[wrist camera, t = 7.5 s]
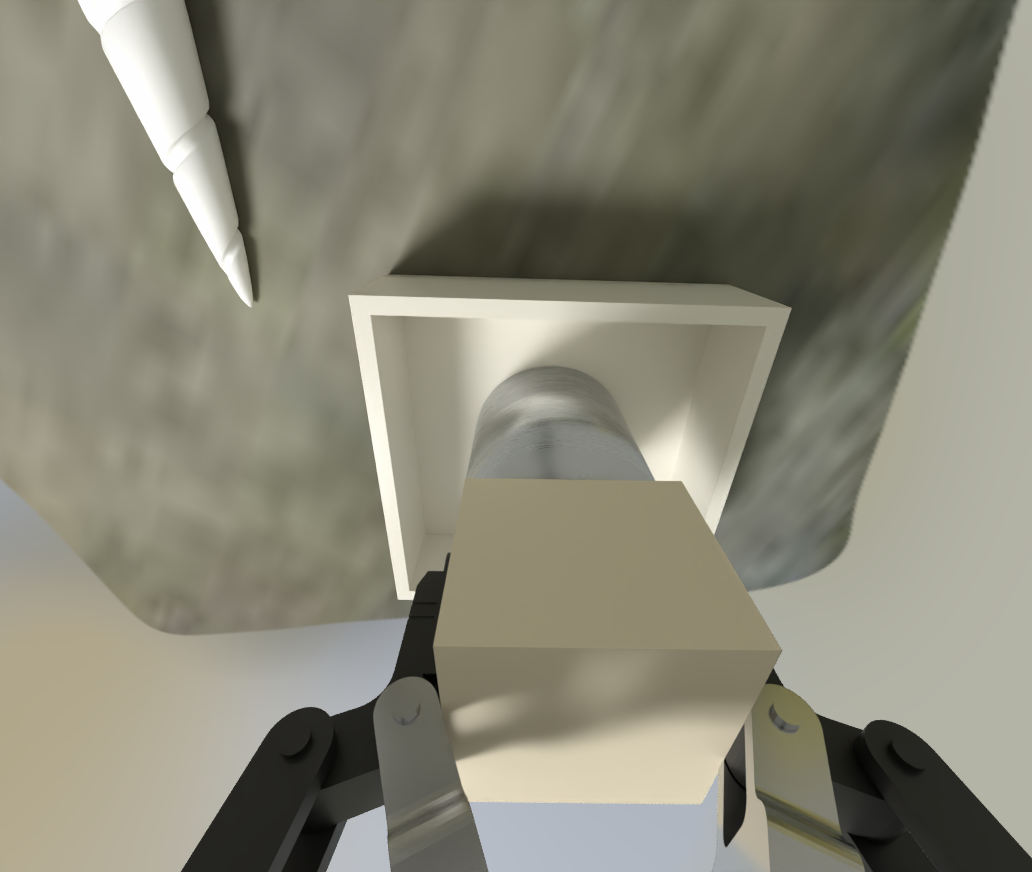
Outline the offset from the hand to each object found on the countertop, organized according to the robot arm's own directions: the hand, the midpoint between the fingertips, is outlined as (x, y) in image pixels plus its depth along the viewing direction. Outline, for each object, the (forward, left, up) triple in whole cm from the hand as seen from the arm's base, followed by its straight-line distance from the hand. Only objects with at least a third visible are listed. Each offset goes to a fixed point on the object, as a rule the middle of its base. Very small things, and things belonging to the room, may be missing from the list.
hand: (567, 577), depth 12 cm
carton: (0, 0, -1) cm, 1 cm away
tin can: (0, 0, -9) cm, 9 cm away
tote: (0, 0, -9) cm, 9 cm away
